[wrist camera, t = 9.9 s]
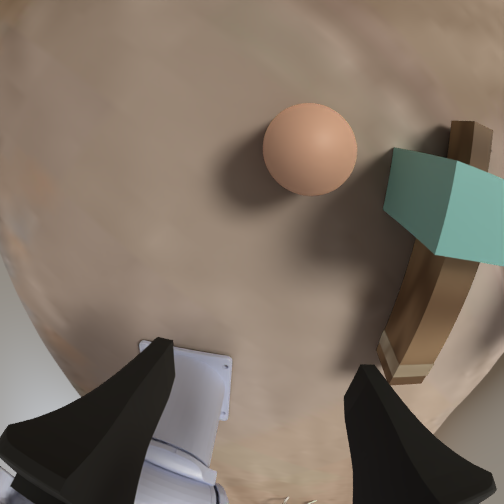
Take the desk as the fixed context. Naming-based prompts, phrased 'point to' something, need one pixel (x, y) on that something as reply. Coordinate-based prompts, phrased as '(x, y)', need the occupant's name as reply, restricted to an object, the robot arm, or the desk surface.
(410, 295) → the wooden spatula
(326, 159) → the bead
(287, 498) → the origami figure
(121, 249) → the desk surface
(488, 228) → the teal angular block
